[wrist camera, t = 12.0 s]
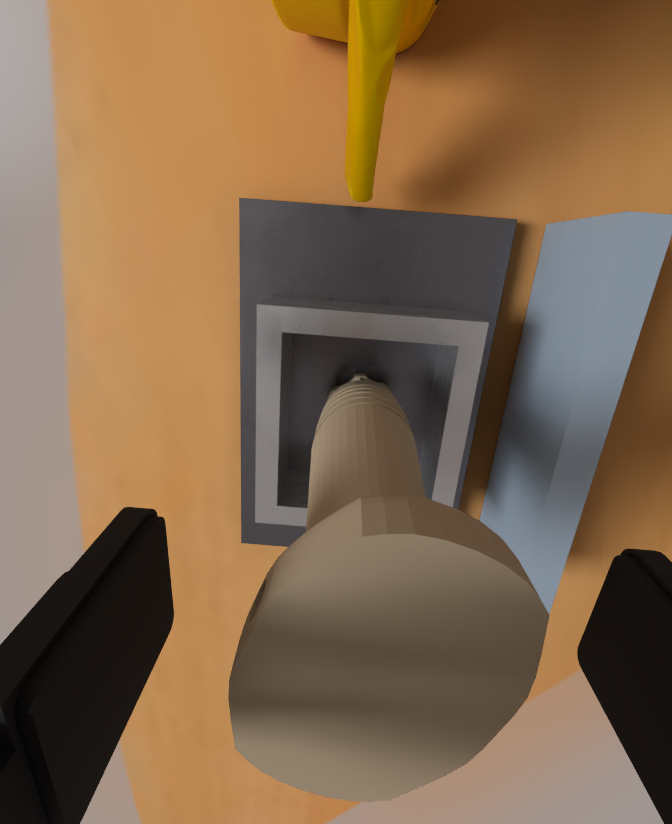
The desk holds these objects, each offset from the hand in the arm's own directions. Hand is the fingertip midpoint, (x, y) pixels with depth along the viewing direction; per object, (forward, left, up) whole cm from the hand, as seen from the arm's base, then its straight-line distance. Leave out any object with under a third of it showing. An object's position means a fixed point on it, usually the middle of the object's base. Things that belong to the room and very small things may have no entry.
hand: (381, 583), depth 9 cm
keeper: (+1, 0, -14) cm, 14 cm away
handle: (0, 0, -13) cm, 13 cm away
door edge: (+1, +8, -14) cm, 16 cm away
